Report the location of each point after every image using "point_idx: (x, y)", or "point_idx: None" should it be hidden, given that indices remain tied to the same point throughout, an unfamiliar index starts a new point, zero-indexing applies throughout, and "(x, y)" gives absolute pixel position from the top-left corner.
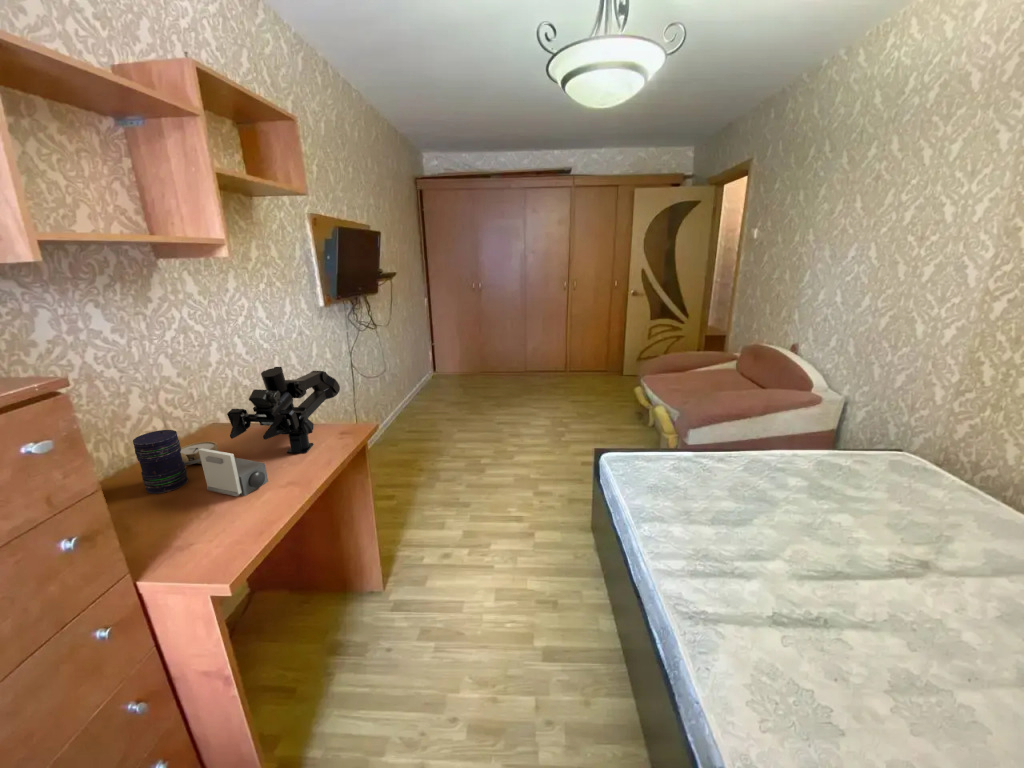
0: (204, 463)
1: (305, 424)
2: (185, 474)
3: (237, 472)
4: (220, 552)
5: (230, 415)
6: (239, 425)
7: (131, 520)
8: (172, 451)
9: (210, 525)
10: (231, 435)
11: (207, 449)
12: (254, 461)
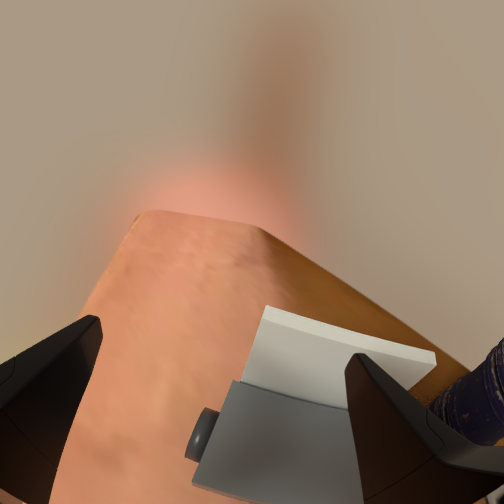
0: None
1: None
2: None
3: (244, 369)
4: (180, 244)
5: None
6: (408, 464)
7: (394, 325)
8: (497, 382)
9: (238, 303)
10: (355, 356)
11: (410, 357)
12: (251, 497)
